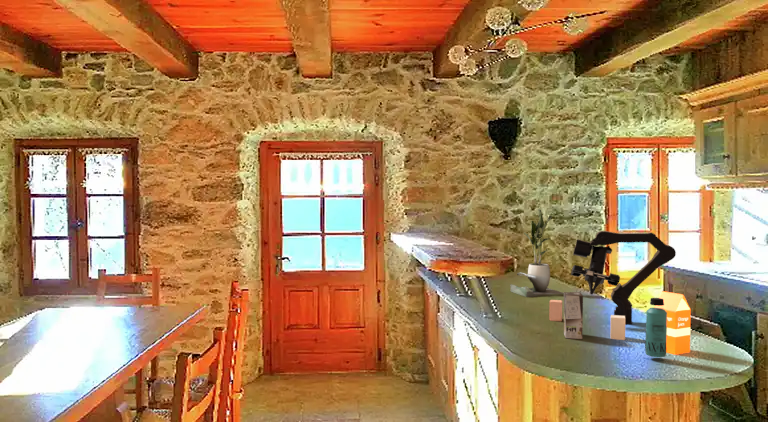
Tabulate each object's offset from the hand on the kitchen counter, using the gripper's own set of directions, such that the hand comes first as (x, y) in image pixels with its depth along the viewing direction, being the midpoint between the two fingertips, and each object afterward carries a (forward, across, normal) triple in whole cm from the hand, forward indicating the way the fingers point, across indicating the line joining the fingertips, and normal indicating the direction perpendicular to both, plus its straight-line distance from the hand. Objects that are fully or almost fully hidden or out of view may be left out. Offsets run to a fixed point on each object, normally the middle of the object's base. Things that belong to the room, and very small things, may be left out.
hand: (591, 294), depth 260 cm
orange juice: (+24, -27, +28) cm, 45 cm away
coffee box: (+23, +5, +12) cm, 27 cm away
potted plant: (-22, +21, -75) cm, 81 cm away
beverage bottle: (+32, -20, +39) cm, 54 cm away
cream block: (+19, -11, +13) cm, 26 cm away
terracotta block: (+10, +11, -14) cm, 20 cm away
